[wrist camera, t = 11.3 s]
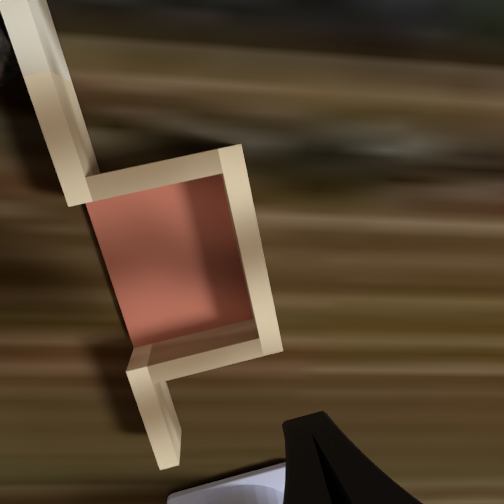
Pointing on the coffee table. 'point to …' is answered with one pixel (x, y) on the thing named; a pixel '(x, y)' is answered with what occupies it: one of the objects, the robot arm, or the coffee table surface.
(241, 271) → the trap channel
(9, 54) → the candle
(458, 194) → the coffee table surface
